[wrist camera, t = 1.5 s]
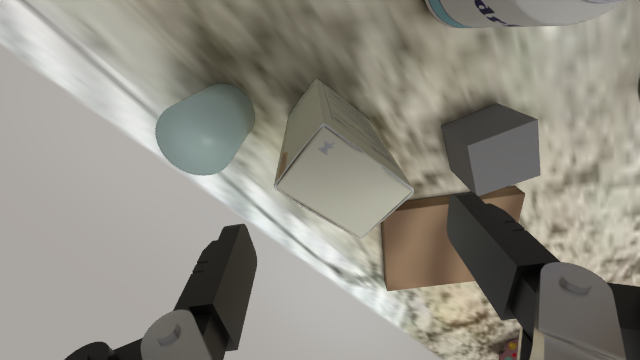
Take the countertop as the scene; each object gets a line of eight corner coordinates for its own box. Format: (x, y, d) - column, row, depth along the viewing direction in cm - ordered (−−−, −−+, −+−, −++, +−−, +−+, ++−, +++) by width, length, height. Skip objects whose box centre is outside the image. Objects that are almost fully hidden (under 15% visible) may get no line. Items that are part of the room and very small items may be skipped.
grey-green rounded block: (245, 79, 22) (219, 96, 16) (261, 135, 25) (243, 169, 19) (188, 88, 23) (141, 110, 17) (209, 143, 25) (175, 180, 19)
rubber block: (496, 103, 24) (537, 119, 19) (502, 150, 26) (540, 175, 22) (440, 125, 25) (467, 146, 20) (450, 170, 27) (476, 196, 23)
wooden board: (515, 186, 28) (525, 193, 27) (496, 267, 34) (504, 277, 32) (380, 204, 29) (383, 212, 27) (384, 281, 34) (387, 291, 33)
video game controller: (542, 310, 40) (566, 345, 34) (565, 334, 40) (595, 374, 33) (485, 340, 44) (497, 377, 37) (506, 362, 44) (522, 403, 37)
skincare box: (286, 117, 24) (264, 185, 13) (316, 75, 22) (317, 116, 12) (342, 156, 26) (361, 245, 15) (373, 121, 24) (418, 193, 14)
